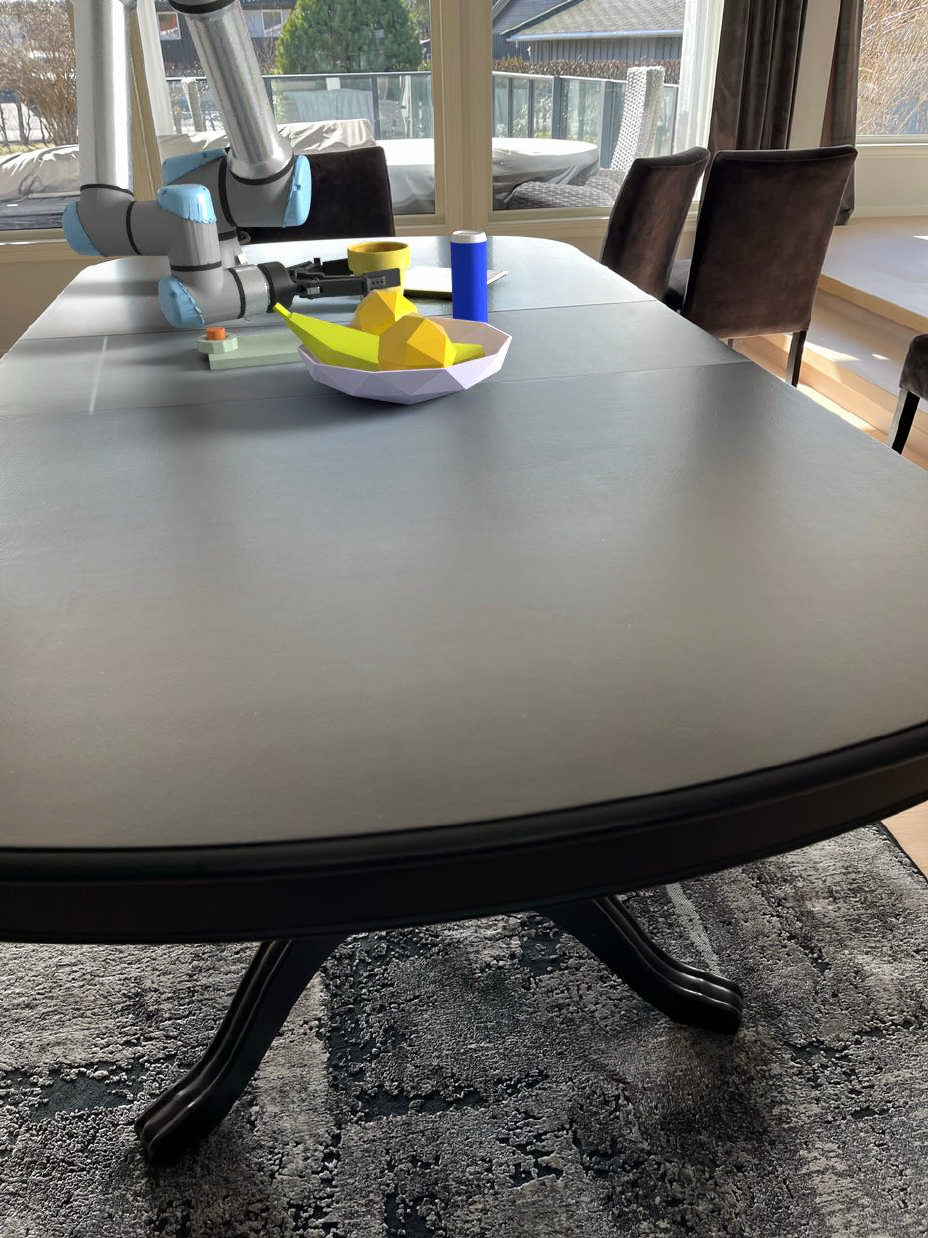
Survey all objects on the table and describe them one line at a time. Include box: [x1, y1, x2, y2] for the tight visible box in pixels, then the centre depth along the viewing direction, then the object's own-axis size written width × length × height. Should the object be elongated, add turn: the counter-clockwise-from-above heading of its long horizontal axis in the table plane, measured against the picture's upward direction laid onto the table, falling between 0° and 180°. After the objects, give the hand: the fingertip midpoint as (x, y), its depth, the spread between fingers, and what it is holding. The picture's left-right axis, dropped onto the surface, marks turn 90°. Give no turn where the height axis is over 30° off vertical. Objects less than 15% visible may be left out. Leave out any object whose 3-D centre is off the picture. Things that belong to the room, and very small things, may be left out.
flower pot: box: [346, 240, 411, 302], centre depth 158 cm, size 10×10×10 cm
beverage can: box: [449, 229, 489, 324], centre depth 136 cm, size 5×5×15 cm
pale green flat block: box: [196, 330, 304, 371], centre depth 136 cm, size 12×17×3 cm
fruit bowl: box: [273, 289, 513, 406], centre depth 118 cm, size 28×27×11 cm
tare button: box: [205, 326, 226, 340], centre depth 134 cm, size 3×3×2 cm
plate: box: [403, 266, 509, 300], centre depth 171 cm, size 19×19×2 cm
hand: (378, 270), depth 158 cm, fingers open, 13 cm apart
